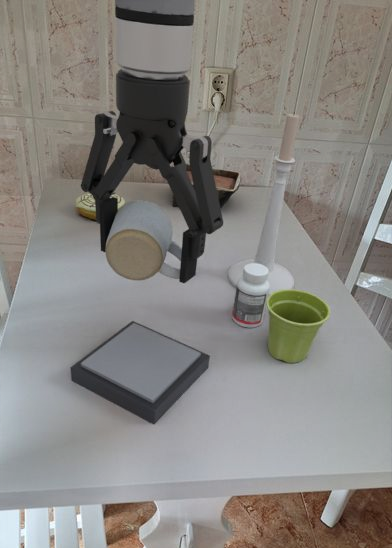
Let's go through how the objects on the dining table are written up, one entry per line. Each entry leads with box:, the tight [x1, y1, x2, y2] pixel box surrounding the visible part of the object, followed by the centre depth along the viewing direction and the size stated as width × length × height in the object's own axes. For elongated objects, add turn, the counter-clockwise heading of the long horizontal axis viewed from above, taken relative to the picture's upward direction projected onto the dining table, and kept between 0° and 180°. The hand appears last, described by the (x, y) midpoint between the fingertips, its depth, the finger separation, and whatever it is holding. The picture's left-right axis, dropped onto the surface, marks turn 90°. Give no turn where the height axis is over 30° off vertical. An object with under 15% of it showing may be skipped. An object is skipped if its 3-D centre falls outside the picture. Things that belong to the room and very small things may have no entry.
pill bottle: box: [231, 263, 270, 329], centre depth 80 cm, size 5×5×10 cm
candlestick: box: [227, 112, 301, 296], centre depth 85 cm, size 13×13×30 cm
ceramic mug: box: [105, 199, 182, 281], centre depth 61 cm, size 11×8×8 cm
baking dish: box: [171, 162, 242, 209], centre depth 120 cm, size 14×18×10 cm
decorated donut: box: [75, 192, 126, 221], centre depth 110 cm, size 10×11×4 cm
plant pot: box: [266, 288, 331, 364], centre depth 75 cm, size 9×9×9 cm
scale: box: [69, 320, 211, 425], centre depth 69 cm, size 14×14×3 cm
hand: (147, 262), depth 63 cm, fingers closed on ceramic mug, 11 cm apart
